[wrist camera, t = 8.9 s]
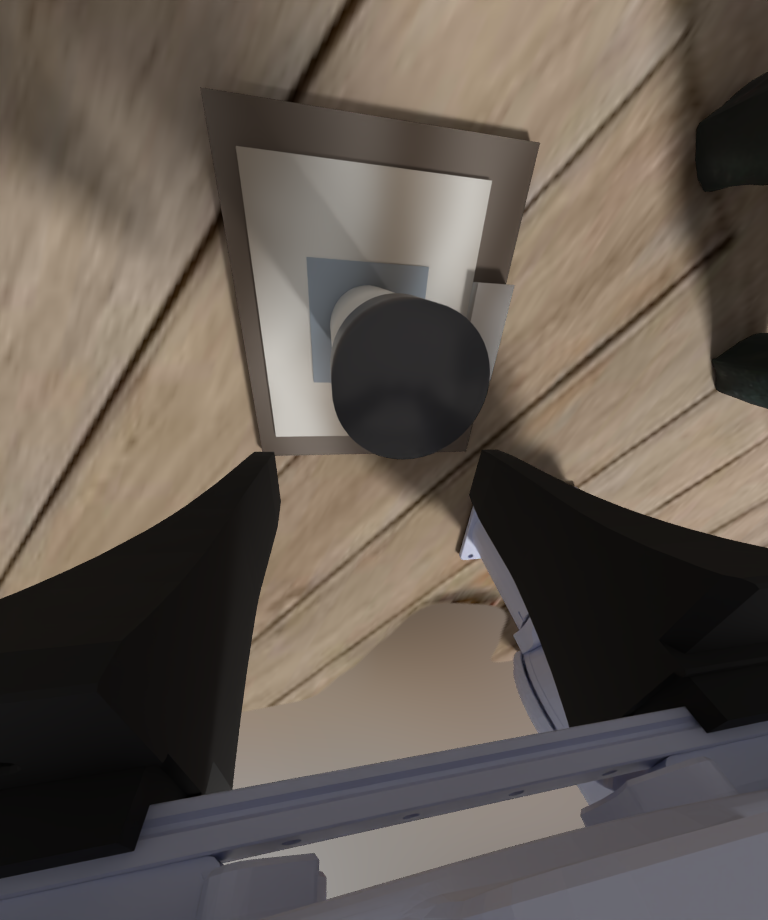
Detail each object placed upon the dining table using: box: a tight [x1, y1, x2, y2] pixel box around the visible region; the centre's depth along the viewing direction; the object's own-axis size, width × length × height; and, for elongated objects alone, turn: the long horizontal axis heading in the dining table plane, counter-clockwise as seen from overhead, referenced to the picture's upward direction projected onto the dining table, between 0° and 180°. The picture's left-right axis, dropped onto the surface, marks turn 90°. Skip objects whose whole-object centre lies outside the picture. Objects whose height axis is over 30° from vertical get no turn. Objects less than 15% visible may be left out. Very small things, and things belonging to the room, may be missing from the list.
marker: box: [330, 285, 490, 459], centre depth 12 cm, size 4×4×10 cm
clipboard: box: [201, 88, 540, 456], centre depth 16 cm, size 14×16×2 cm
